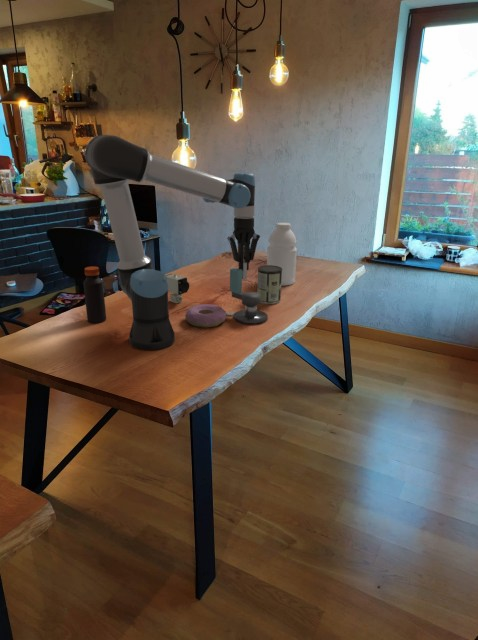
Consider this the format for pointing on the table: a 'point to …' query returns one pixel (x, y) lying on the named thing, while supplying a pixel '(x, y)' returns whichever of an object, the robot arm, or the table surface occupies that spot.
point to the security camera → (177, 287)
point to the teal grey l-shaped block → (236, 289)
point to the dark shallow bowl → (249, 315)
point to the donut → (205, 315)
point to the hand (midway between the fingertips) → (243, 278)
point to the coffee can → (269, 284)
